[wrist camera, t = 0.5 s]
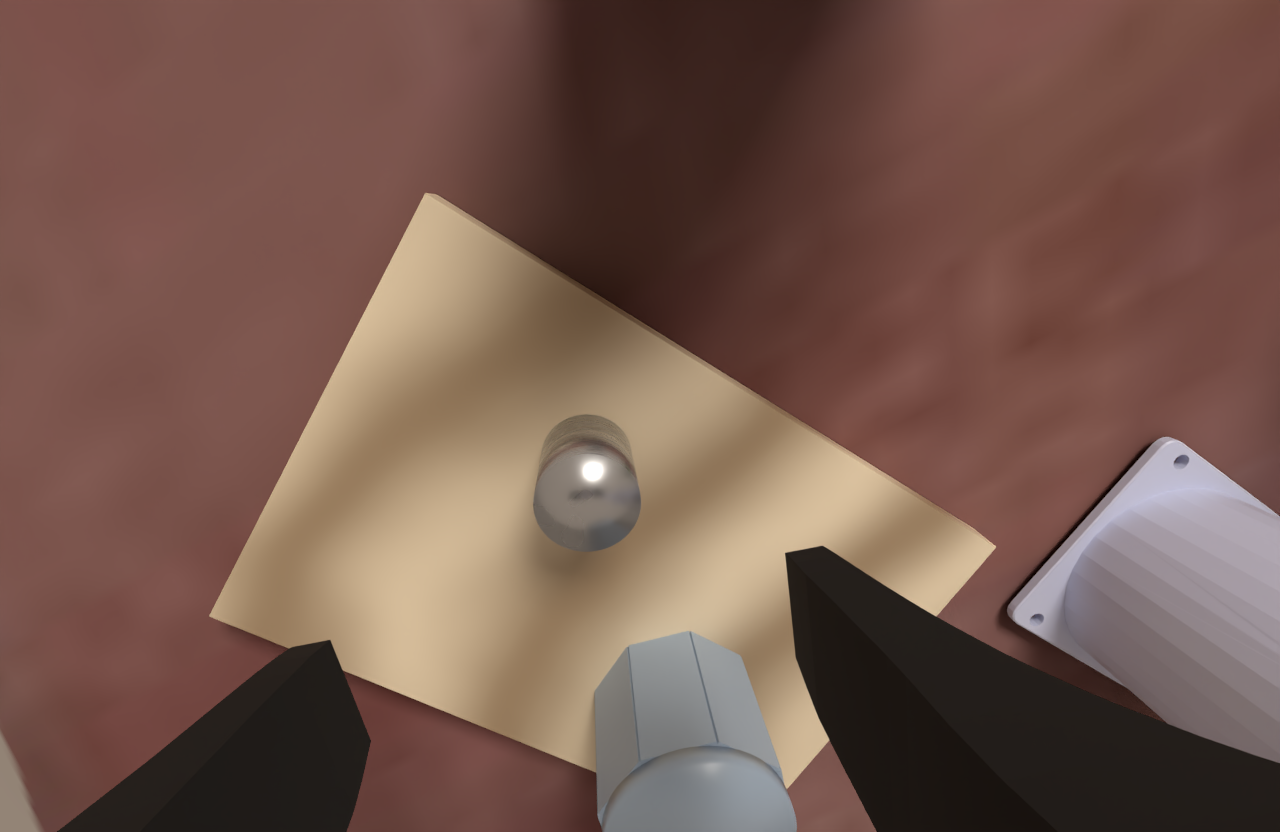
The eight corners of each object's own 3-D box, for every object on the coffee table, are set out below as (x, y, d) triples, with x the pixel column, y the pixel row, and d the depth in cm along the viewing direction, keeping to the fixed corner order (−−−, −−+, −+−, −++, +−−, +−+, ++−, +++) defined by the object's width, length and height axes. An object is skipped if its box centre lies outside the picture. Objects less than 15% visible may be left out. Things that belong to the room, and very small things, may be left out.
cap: (777, 672, 21) (835, 807, 16) (694, 775, 22) (724, 930, 17) (651, 610, 20) (673, 737, 15) (569, 723, 21) (565, 874, 16)
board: (974, 528, 21) (996, 547, 20) (740, 805, 24) (748, 834, 23) (436, 194, 16) (425, 193, 15) (231, 592, 19) (209, 616, 18)
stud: (649, 442, 18) (661, 486, 15) (601, 512, 18) (605, 568, 16) (570, 397, 17) (568, 435, 14) (524, 472, 18) (513, 522, 15)
